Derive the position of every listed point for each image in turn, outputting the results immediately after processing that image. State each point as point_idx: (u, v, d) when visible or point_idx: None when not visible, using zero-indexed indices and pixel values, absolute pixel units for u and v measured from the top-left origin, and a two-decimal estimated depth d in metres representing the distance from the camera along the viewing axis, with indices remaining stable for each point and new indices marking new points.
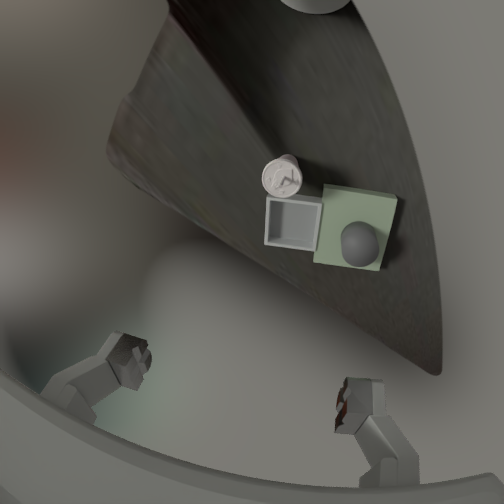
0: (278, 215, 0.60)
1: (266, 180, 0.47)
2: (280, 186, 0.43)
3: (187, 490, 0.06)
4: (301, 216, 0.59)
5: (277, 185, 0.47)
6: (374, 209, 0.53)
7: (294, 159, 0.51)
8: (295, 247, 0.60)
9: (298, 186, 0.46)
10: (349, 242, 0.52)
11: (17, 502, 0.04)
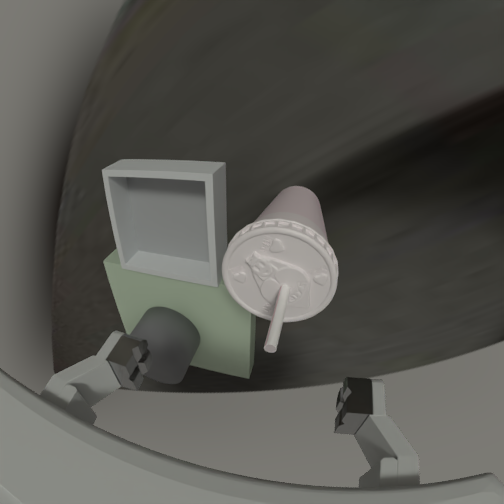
0: (172, 184, 0.25)
1: (272, 240, 0.15)
2: (269, 345, 0.13)
3: (187, 490, 0.06)
4: (181, 231, 0.27)
5: (259, 271, 0.16)
6: (226, 353, 0.32)
7: None
8: (115, 233, 0.26)
9: (260, 314, 0.18)
10: (159, 353, 0.27)
11: (17, 502, 0.04)
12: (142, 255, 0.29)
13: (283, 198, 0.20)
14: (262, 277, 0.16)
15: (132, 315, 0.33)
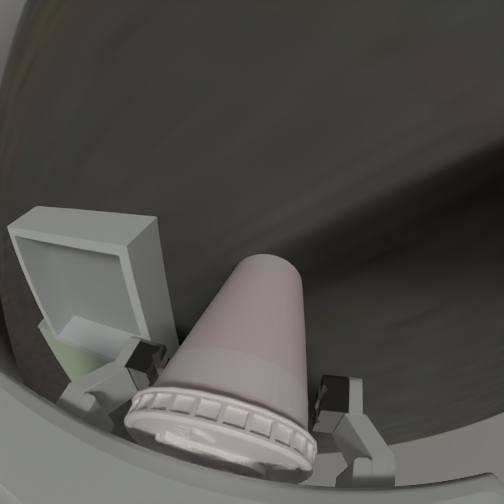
0: None
1: (191, 430, 0.07)
2: None
3: (187, 490, 0.06)
4: (114, 302, 0.19)
5: (180, 452, 0.08)
6: None
7: None
8: (38, 303, 0.18)
9: None
10: None
11: (17, 502, 0.04)
12: (77, 323, 0.21)
13: (235, 294, 0.12)
14: (187, 457, 0.08)
15: None
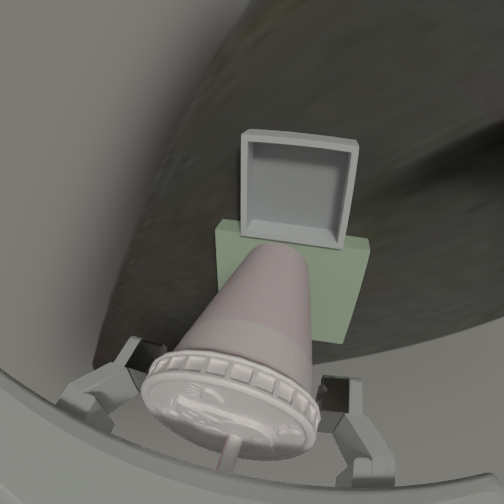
0: (304, 155, 0.27)
1: (202, 389, 0.08)
2: None
3: (187, 490, 0.06)
4: (305, 199, 0.30)
5: (192, 418, 0.09)
6: (328, 318, 0.35)
7: None
8: (243, 199, 0.28)
9: (211, 448, 0.11)
10: None
11: (17, 502, 0.04)
12: (259, 223, 0.32)
13: (244, 275, 0.13)
14: (199, 424, 0.09)
15: None
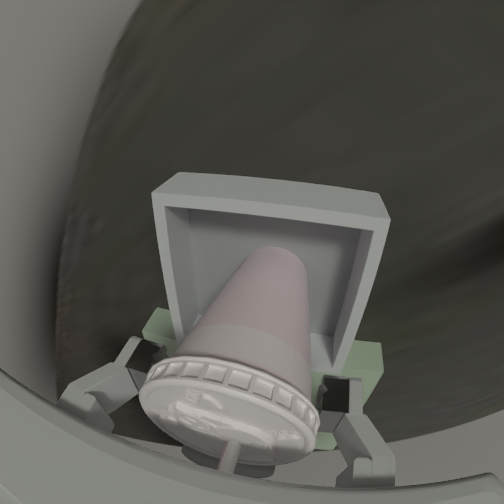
0: (279, 222, 0.15)
1: (200, 395, 0.08)
2: None
3: (187, 490, 0.06)
4: None
5: (190, 424, 0.09)
6: None
7: None
8: (172, 300, 0.16)
9: (210, 453, 0.10)
10: None
11: (17, 502, 0.04)
12: None
13: (242, 280, 0.13)
14: (197, 429, 0.09)
15: None
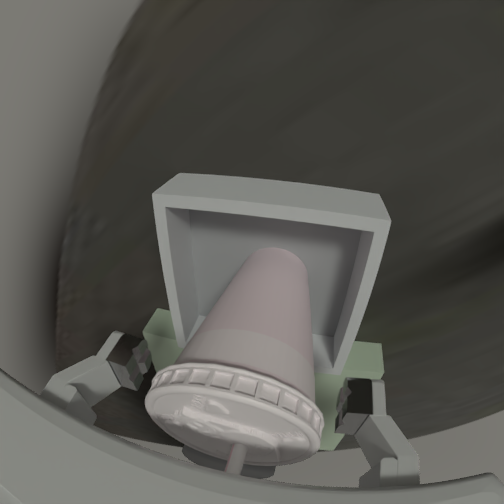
0: (280, 223, 0.15)
1: (207, 401, 0.08)
2: None
3: (187, 490, 0.06)
4: None
5: (197, 428, 0.09)
6: None
7: None
8: (172, 301, 0.16)
9: (215, 455, 0.11)
10: None
11: (17, 502, 0.04)
12: None
13: (244, 283, 0.13)
14: (203, 433, 0.09)
15: None
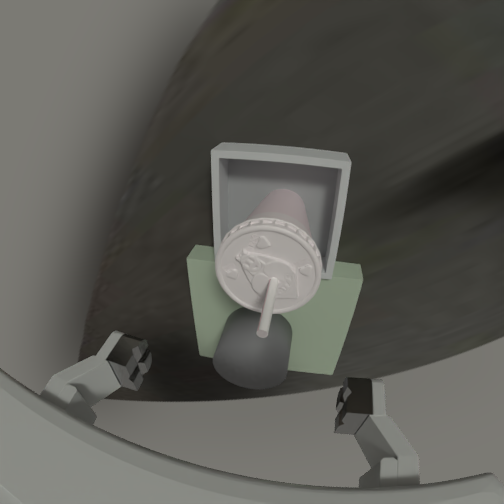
0: (286, 172, 0.24)
1: (259, 237, 0.17)
2: (261, 331, 0.14)
3: (187, 490, 0.06)
4: None
5: (249, 266, 0.17)
6: (316, 350, 0.31)
7: None
8: (216, 225, 0.25)
9: (254, 307, 0.19)
10: (266, 355, 0.25)
11: (17, 502, 0.04)
12: None
13: (268, 200, 0.22)
14: (252, 272, 0.18)
15: (211, 318, 0.31)
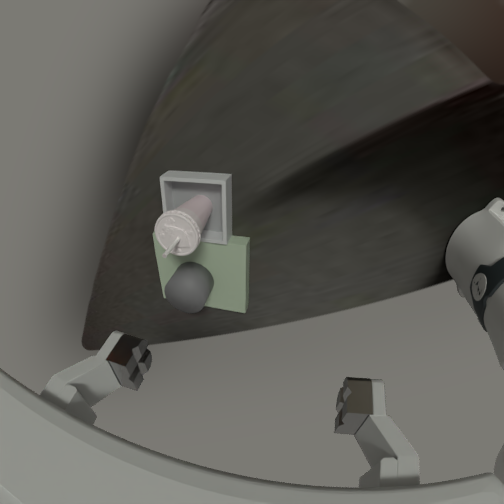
0: (200, 186, 0.45)
1: (170, 218, 0.37)
2: (164, 254, 0.35)
3: (187, 490, 0.06)
4: None
5: (167, 231, 0.38)
6: (230, 293, 0.52)
7: None
8: None
9: (173, 252, 0.40)
10: (190, 287, 0.46)
11: (17, 502, 0.04)
12: None
13: (186, 201, 0.42)
14: (169, 234, 0.38)
15: (168, 270, 0.52)
